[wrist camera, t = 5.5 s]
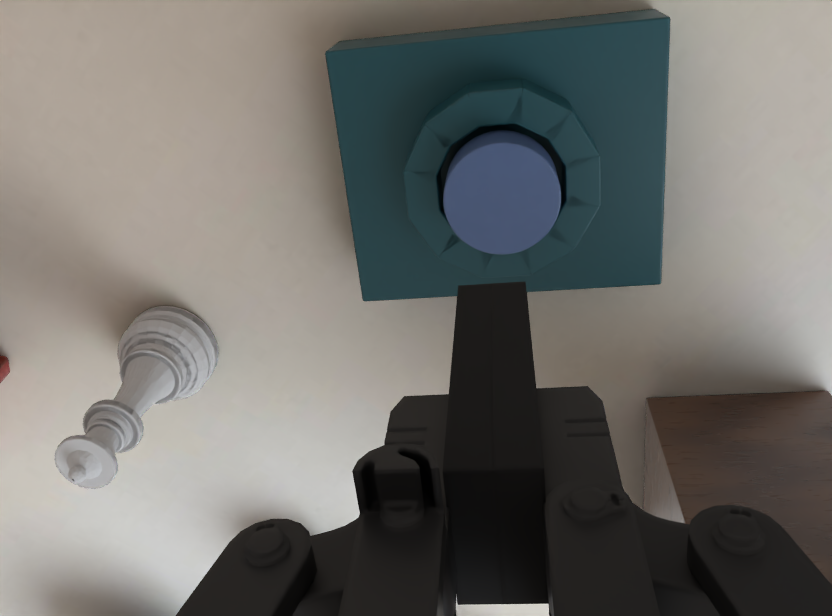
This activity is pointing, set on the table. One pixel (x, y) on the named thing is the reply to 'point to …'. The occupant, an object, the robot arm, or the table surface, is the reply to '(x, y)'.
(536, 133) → the push button block
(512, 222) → the blue push button
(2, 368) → the dollhouse furniture set
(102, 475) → the chess piece
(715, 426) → the pedestal
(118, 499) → the table surface
